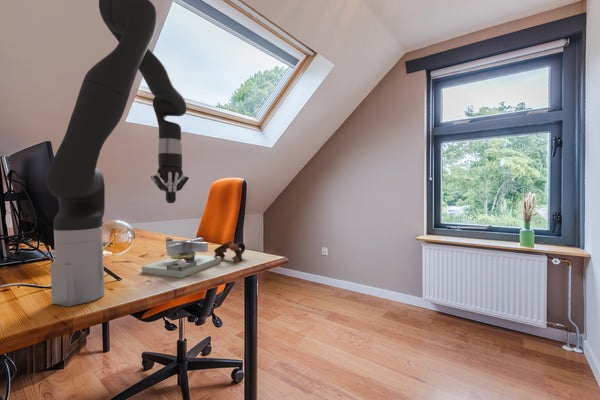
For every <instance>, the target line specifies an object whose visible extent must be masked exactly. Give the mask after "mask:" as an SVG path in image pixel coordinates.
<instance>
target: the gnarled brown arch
mask: <svg viewBox="0 0 600 400" xmlns="http://www.w3.org/2000/svg"><path fill="white" fill-rule="evenodd" d="M227 249H229V250H230V251H233V252H234V253H235V255H233V257H232V258H231V259H232V261H233V264H237V263H238V262H240V261H242V260H243V256H242V255H243V254H244V252H245V251H246V244H245V243H243V242H241V241H239V242H237V243H234V242H233V241H232V240H229V241H227V242H225V243H224V244H221V245H220V246H218V247H216V248H215V249H214V250H213V251H214V256H215V257H220V259H221V260H223V259H224V258H225V257H226V255H225V253H227V252H228V251H227Z"/></svg>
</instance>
